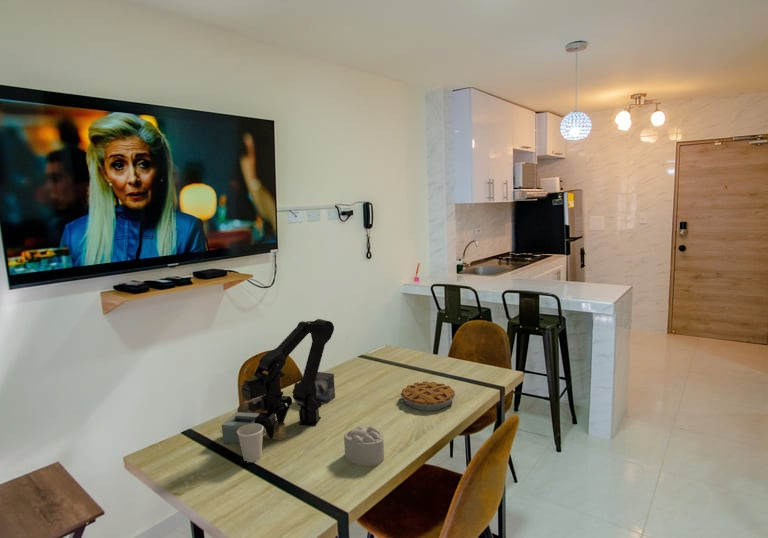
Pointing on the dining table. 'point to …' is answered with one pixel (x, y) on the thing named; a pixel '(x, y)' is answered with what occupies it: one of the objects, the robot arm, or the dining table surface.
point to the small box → (325, 386)
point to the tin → (244, 408)
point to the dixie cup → (251, 441)
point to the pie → (428, 396)
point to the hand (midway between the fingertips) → (275, 433)
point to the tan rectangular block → (278, 431)
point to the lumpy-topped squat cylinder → (364, 446)
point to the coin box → (236, 426)
